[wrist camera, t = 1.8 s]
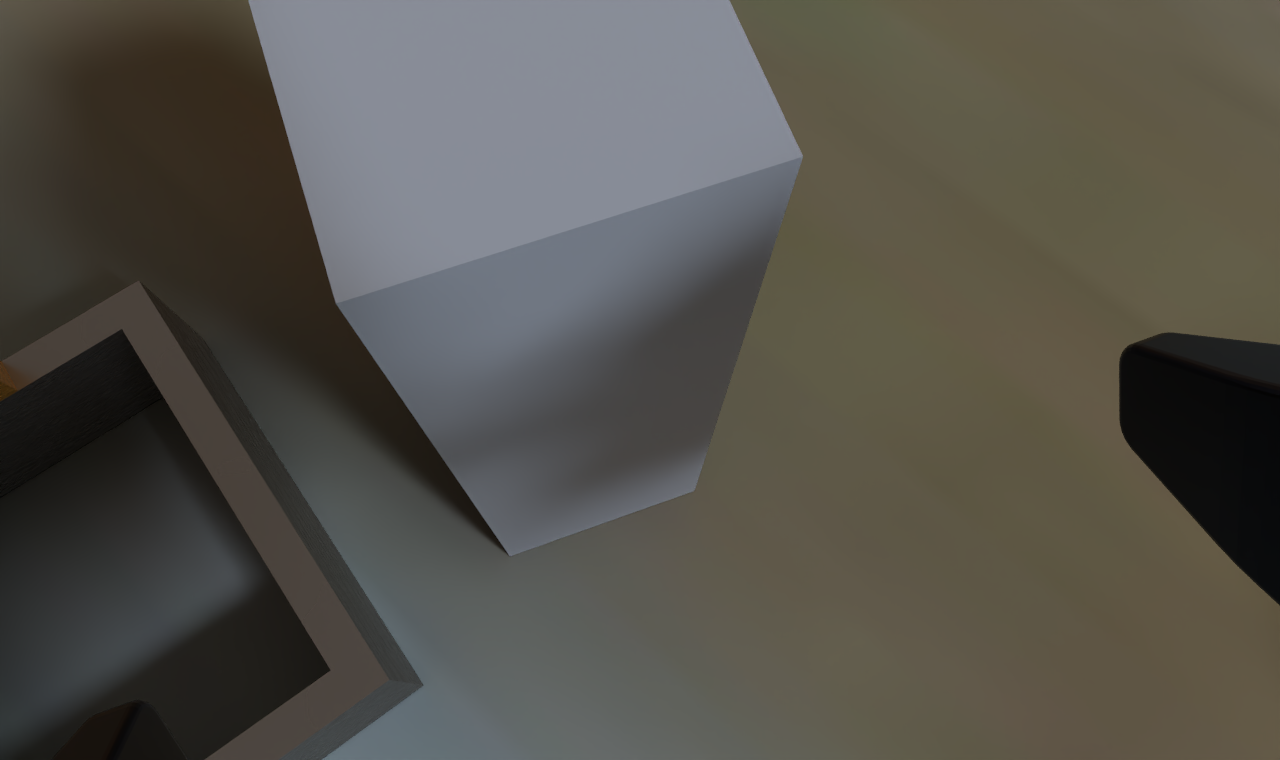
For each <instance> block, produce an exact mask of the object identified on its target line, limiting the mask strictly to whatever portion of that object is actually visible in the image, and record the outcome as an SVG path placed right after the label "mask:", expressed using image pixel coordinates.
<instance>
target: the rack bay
mask: <svg viewBox="0 0 1280 760" xmlns="http://www.w3.org/2000/svg"><path fill="white" fill-rule="evenodd" d="M162 397H164V399H165V400H166V402H167V404H168V405H169V407H170V408H171V410H172V412H173V413H174V415H175V417H176V418H177V420H178V422H179V423H180V425H181V426H182V428H183V430H184V431H185V433H186V435H187V436H188V438H189V439H190V441H191V443H192V444H193V446H194V448H195V449H196V451H197V453H198V454H199V456H200V457H201V459H202V461H203V462H204V464H205V466H206V467H207V469H208V471H209V472H210V474H211V475H212V477H213V479H214V480H215V482H216V484H217V485H218V487H219V489H220V490H221V492H222V493H223V495H224V497H225V498H226V500H227V502H228V503H229V505H230V506H231V508H232V510H233V511H234V513H235V515H236V516H237V518H238V520H239V521H240V523H241V524H242V526H243V528H244V529H245V531H246V533H247V534H248V536H249V538H250V539H251V541H252V542H253V544H254V546H255V547H256V549H257V551H258V552H259V554H260V556H261V557H262V559H263V560H264V562H265V564H266V565H267V567H268V569H269V570H270V572H271V573H272V575H273V577H274V578H275V580H276V582H277V583H278V585H279V587H280V588H281V590H282V591H283V593H284V595H285V596H286V598H287V600H288V601H289V603H290V605H291V606H292V608H293V609H294V611H295V613H296V614H297V616H298V618H299V619H300V621H301V623H302V624H303V626H304V627H305V629H306V631H307V632H308V634H309V636H310V637H311V639H312V640H313V642H314V644H315V645H316V647H317V649H318V650H319V652H320V654H321V655H322V657H323V658H324V660H325V662H326V663H327V665H328V667H329V668H330V670H331V671H329V672H328V673H326V674H325V675H323V676H322V677H321V678H319V679H318V680H316V681H315V682H314V683H312V684H311V685H309V686H308V687H306V688H305V689H304V690H302V691H301V692H299V693H298V694H297V695H295V696H294V697H292V698H291V699H290V700H288V701H287V702H285V703H284V704H282V705H281V706H280V707H278V708H277V709H275V710H274V711H273V712H271V713H270V714H268V715H267V716H265V717H264V718H263V719H261V720H260V721H258V722H257V723H256V724H254V725H253V726H251V727H250V728H249V729H247V730H246V731H244V732H243V733H241V734H240V735H239V736H237V737H236V738H234V739H233V740H232V741H230V742H229V743H227V744H226V745H224V746H223V747H222V748H220V749H219V750H217V751H216V752H215V753H213V754H212V755H210V756H209V757H208V758H206V759H205V760H321V759H323V758H324V757H326V756H327V755H328V754H330V753H331V752H332V751H334V750H335V749H337V748H338V747H339V746H341V745H342V744H344V743H345V742H346V741H348V740H349V739H350V738H352V737H353V736H355V735H356V734H357V733H359V732H360V731H361V730H363V729H364V728H366V727H367V726H368V725H370V724H371V723H372V722H374V721H375V720H377V719H378V718H379V717H381V716H382V715H383V714H385V713H386V712H388V711H389V710H390V709H392V708H393V707H394V706H396V705H397V704H399V703H400V702H401V701H403V700H404V699H405V698H407V697H408V696H410V695H411V694H412V693H414V692H415V691H416V690H418V689H419V688H421V687H422V686H423V684H422V682H421V681H420V679H419V677H418V676H417V674H416V673H415V671H414V670H413V668H412V666H411V665H410V663H409V662H408V660H407V659H406V657H405V655H404V654H403V652H402V651H401V649H400V648H399V646H398V644H397V643H396V641H395V640H394V638H393V637H392V635H391V633H390V632H389V630H388V629H387V627H386V626H385V624H384V622H383V621H382V619H381V618H380V616H379V615H378V613H377V611H376V610H375V608H374V607H373V605H372V604H371V602H370V600H369V599H368V597H367V596H366V594H365V593H364V591H363V589H362V588H361V586H360V585H359V583H358V582H357V580H356V578H355V577H354V575H353V574H352V572H351V571H350V569H349V567H348V566H347V564H346V563H345V561H344V560H343V558H342V556H341V555H340V553H339V552H338V550H337V549H336V547H335V545H334V544H333V542H332V541H331V539H330V538H329V536H328V534H327V533H326V531H325V530H324V528H323V527H322V525H321V523H320V522H319V520H318V519H317V517H316V516H315V514H314V513H313V511H312V509H311V508H310V506H309V505H308V503H307V502H306V500H305V498H304V497H303V495H302V494H301V492H300V491H299V489H298V487H297V486H296V484H295V483H294V481H293V480H292V478H291V476H290V475H289V473H288V472H287V470H286V469H285V467H284V465H283V464H282V462H281V461H280V459H279V458H278V456H277V454H276V453H275V451H274V450H273V448H272V447H271V445H270V443H269V442H268V440H267V439H266V437H265V436H264V434H263V432H262V431H261V429H260V428H259V426H258V425H257V423H256V421H255V420H254V418H253V417H252V415H251V414H250V412H249V410H248V409H247V407H246V406H245V404H244V403H243V401H242V399H241V398H240V396H239V395H238V393H237V392H236V390H235V388H234V387H233V385H232V384H231V382H230V381H229V379H228V377H227V376H226V374H225V373H224V371H223V370H222V368H221V366H220V365H219V363H218V362H217V360H216V359H215V357H214V355H213V354H212V352H211V351H210V349H209V348H208V346H207V344H206V343H205V341H204V340H203V338H202V337H201V336H200V335H198V334H197V333H196V332H195V331H194V330H193V329H192V328H191V327H190V326H189V325H187V324H186V323H185V322H184V321H183V320H182V319H181V318H180V317H179V316H177V315H176V314H175V313H174V312H173V311H172V310H171V309H170V308H169V307H168V306H166V305H165V304H164V303H163V302H162V301H161V300H160V299H159V298H158V297H156V296H155V295H154V294H153V293H152V292H151V291H150V290H149V289H148V288H146V287H145V286H144V285H143V284H142V283H141V282H140V281H139V280H138V281H137V282H135V283H133V284H132V285H130V286H128V287H126V288H125V289H123V290H121V291H120V292H118V293H116V294H115V295H113V296H111V297H110V298H108V299H106V300H104V301H103V302H101V303H99V304H98V305H96V306H94V307H93V308H91V309H89V310H87V311H86V312H84V313H82V314H81V315H79V316H77V317H76V318H74V319H72V320H70V321H69V322H67V323H65V324H64V325H62V326H60V327H59V328H57V329H55V330H53V331H52V332H50V333H48V334H47V335H45V336H43V337H42V338H40V339H38V340H37V341H35V342H33V343H31V344H30V345H28V346H26V347H25V348H23V349H21V350H20V351H18V352H16V353H14V354H13V355H11V356H9V357H8V358H6V359H4V360H3V361H0V497H2V496H4V495H5V494H7V493H8V492H10V491H12V490H13V489H15V488H17V487H18V486H20V485H21V484H23V483H25V482H26V481H28V480H29V479H31V478H33V477H34V476H36V475H38V474H39V473H41V472H42V471H44V470H46V469H47V468H49V467H50V466H52V465H54V464H55V463H57V462H59V461H60V460H62V459H63V458H65V457H67V456H68V455H70V454H71V453H73V452H75V451H76V450H78V449H80V448H81V447H83V446H84V445H86V444H88V443H89V442H91V441H92V440H94V439H96V438H97V437H99V436H101V435H102V434H104V433H105V432H107V431H109V430H110V429H112V428H113V427H115V426H117V425H118V424H120V423H122V422H123V421H125V420H126V419H128V418H130V417H131V416H133V415H135V414H136V413H138V412H139V411H141V410H143V409H144V408H146V407H147V406H149V405H151V404H152V403H154V402H156V401H157V400H159V399H160V398H162Z"/></svg>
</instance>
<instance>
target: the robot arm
mask: <svg viewBox="0 0 1280 760" xmlns="http://www.w3.org/2000/svg"><path fill="white" fill-rule="evenodd" d="M1119 411H1120V426H1121V430H1122V433H1123V435H1124V438H1125V440H1126V441H1127V443H1128V445H1129V446H1130V447H1131V449H1132V450H1133V451H1134V452H1135V453H1136V454H1137V455H1138V457H1139V458H1140V459H1141V460H1142V461H1143V462H1144V463H1145V464H1146V465H1147V467H1148V468H1149V469H1150V470H1151V471H1152V472H1153V473H1154V474H1155V476H1156V477H1157V478H1158V479H1159V480H1160V481H1161V482H1162V483H1163V485H1164V486H1165V487H1166V488H1167V489H1168V490H1169V491H1170V492H1171V493H1172V495H1173V496H1174V497H1175V498H1176V499H1177V500H1178V501H1179V502H1180V504H1181V505H1182V506H1183V507H1184V508H1185V509H1186V510H1187V511H1188V512H1189V514H1190V515H1191V516H1192V517H1193V518H1194V519H1195V520H1196V521H1197V523H1198V524H1199V525H1200V526H1201V527H1202V528H1203V529H1204V530H1205V531H1206V533H1207V534H1208V535H1209V536H1210V537H1211V538H1212V539H1213V540H1214V542H1215V543H1216V544H1217V545H1218V546H1219V547H1220V548H1221V549H1222V550H1223V551H1224V552H1225V553H1226V554H1227V555H1228V556H1229V558H1230V559H1231V560H1232V561H1233V562H1234V563H1235V564H1236V565H1237V566H1238V567H1239V568H1240V569H1241V570H1242V571H1243V572H1244V573H1245V574H1247V575H1248V576H1249V577H1250V578H1251V579H1252V580H1253V581H1254V582H1255V583H1256V584H1257V585H1258V586H1259V587H1260V588H1261V589H1262V590H1264V591H1265V592H1266V593H1267V594H1268V595H1269V596H1270V597H1271V598H1272V599H1273V600H1274V601H1276V602H1277V603H1278V604H1279V605H1280V345H1277V344H1268V343H1259V342H1250V341H1242V340H1233V339H1224V338H1215V337H1206V336H1198V335H1189V334H1180V333H1161V334H1158V335H1155V336H1153V337H1150V338H1147V339H1144V340H1141V341H1139V342H1136V343H1133V344H1130V345H1129V346H1127V347H1126V348H1125V349H1124V350H1123V352H1122V354H1121V357H1120V362H1119ZM52 760H188V758H187V757H186V755H185V754H184V752H183V751H182V749H181V748H180V746H179V745H178V743H177V741H176V740H175V738H174V737H173V735H172V734H171V732H170V731H169V729H168V728H167V726H166V725H165V723H164V721H163V720H162V718H161V717H160V715H159V714H158V712H157V711H156V710H155V708H154V707H153V706H152V705H150V704H149V703H148V702H145V701H141V700H135V701H132V702H129V703H126V704H124V705H121V706H118V707H115V708H112V709H109V710H107V711H104V712H101V713H98V714H96V715H94V716H92V717H91V718H89V719H88V720H87V721H86V722H85V723H84V724H83V725H82V726H81V727H80V729H79V730H78V731H77V732H76V733H75V734H74V735H73V736H72V737H71V739H70V740H69V741H68V742H67V743H66V744H65V745H64V746H63V747H62V748H61V750H60V751H59V752H58V753H57V754H56V755H55V756H54V757H53V758H52Z"/></svg>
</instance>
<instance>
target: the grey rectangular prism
mask: <svg viewBox="0 0 1280 760" xmlns="http://www.w3.org/2000/svg"><path fill="white" fill-rule="evenodd" d="M248 1H249V4H250V8H251V11H252V15H253V18H254V22H255V25H256V28H257V32H258V35H259V39H260V42H261V46H262V49H263V53H264V56H265V60H266V63H267V67H268V70H269V74H270V77H271V80H272V84H273V87H274V91H275V94H276V98H277V101H278V105H279V108H280V112H281V115H282V119H283V122H284V126H285V129H286V132H287V136H288V139H289V143H290V146H291V150H292V153H293V157H294V160H295V164H296V167H297V171H298V174H299V178H300V181H301V184H302V188H303V191H304V195H305V198H306V202H307V205H308V209H309V212H310V216H311V219H312V223H313V226H314V230H315V233H316V236H317V240H318V243H319V247H320V250H321V254H322V257H323V261H324V264H325V268H326V271H327V275H328V278H329V282H330V285H331V288H332V292H333V295H334V299H335V302H336V305H337V306H338V307H339V309H340V310H341V312H342V313H343V315H344V316H345V318H346V319H347V321H348V322H349V323H350V325H351V326H352V328H353V329H354V331H355V332H356V334H357V335H358V336H359V338H360V339H361V341H362V342H363V344H364V345H365V347H366V348H367V350H368V351H369V352H370V354H371V355H372V357H373V358H374V360H375V361H376V363H377V364H378V366H379V367H380V368H381V370H382V371H383V373H384V374H385V376H386V377H387V379H388V380H389V382H390V383H391V384H392V386H393V387H394V389H395V390H396V392H397V393H398V395H399V396H400V397H401V399H402V400H403V402H404V403H405V405H406V406H407V408H408V409H409V411H410V412H411V413H412V415H413V416H414V418H415V419H416V421H417V422H418V424H419V425H420V427H421V428H422V429H423V431H424V432H425V434H426V435H427V437H428V438H429V440H430V441H431V442H432V444H433V445H434V447H435V448H436V450H437V451H438V453H439V454H440V456H441V457H442V458H443V460H444V461H445V463H446V464H447V466H448V467H449V469H450V470H451V472H452V473H453V474H454V476H455V477H456V479H457V480H458V482H459V483H460V485H461V486H462V487H463V489H464V490H465V492H466V493H467V495H468V496H469V498H470V499H471V501H472V502H473V503H474V505H475V506H476V508H477V509H478V511H479V512H480V514H481V515H482V517H483V518H484V519H485V521H486V522H487V524H488V525H489V527H490V528H491V530H492V531H493V533H494V534H495V535H496V537H497V538H498V540H499V541H500V543H501V544H502V546H503V547H504V548H505V550H506V551H507V553H508V554H509V556H513V555H515V554H518V553H521V552H524V551H527V550H529V549H532V548H535V547H538V546H541V545H544V544H546V543H549V542H552V541H555V540H558V539H560V538H563V537H566V536H569V535H572V534H574V533H577V532H580V531H583V530H586V529H589V528H591V527H594V526H597V525H600V524H603V523H605V522H608V521H611V520H614V519H617V518H619V517H622V516H625V515H628V514H631V513H634V512H636V511H639V510H642V509H645V508H648V507H650V506H653V505H656V504H659V503H662V502H664V501H667V500H670V499H673V498H676V497H679V496H681V495H684V494H687V493H690V492H693V491H694V490H695V487H696V484H697V481H698V478H699V475H700V472H701V469H702V466H703V463H704V460H705V456H706V453H707V450H708V447H709V444H710V441H711V438H712V435H713V432H714V429H715V426H716V423H717V420H718V416H719V413H720V410H721V407H722V404H723V401H724V398H725V395H726V392H727V389H728V386H729V383H730V380H731V376H732V373H733V370H734V367H735V364H736V361H737V358H738V355H739V352H740V349H741V346H742V343H743V340H744V336H745V333H746V330H747V327H748V324H749V321H750V318H751V315H752V312H753V309H754V306H755V303H756V300H757V297H758V293H759V290H760V287H761V284H762V281H763V278H764V275H765V272H766V269H767V266H768V263H769V260H770V257H771V253H772V250H773V247H774V244H775V241H776V238H777V235H778V232H779V229H780V226H781V223H782V220H783V217H784V213H785V210H786V207H787V204H788V201H789V198H790V195H791V192H792V189H793V186H794V183H795V180H796V177H797V173H798V170H799V167H800V164H801V161H802V158H803V156H802V153H801V151H800V149H799V147H798V145H797V143H796V141H795V139H794V136H793V134H792V132H791V130H790V128H789V126H788V124H787V122H786V119H785V117H784V115H783V113H782V111H781V109H780V107H779V105H778V103H777V100H776V98H775V96H774V94H773V92H772V90H771V88H770V86H769V83H768V81H767V79H766V77H765V75H764V73H763V71H762V69H761V67H760V64H759V62H758V60H757V58H756V56H755V54H754V52H753V50H752V47H751V45H750V43H749V41H748V39H747V37H746V35H745V33H744V30H743V28H742V26H741V24H740V22H739V20H738V18H737V16H736V14H735V11H734V9H733V7H732V5H731V3H730V1H729V0H248Z"/></svg>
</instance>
